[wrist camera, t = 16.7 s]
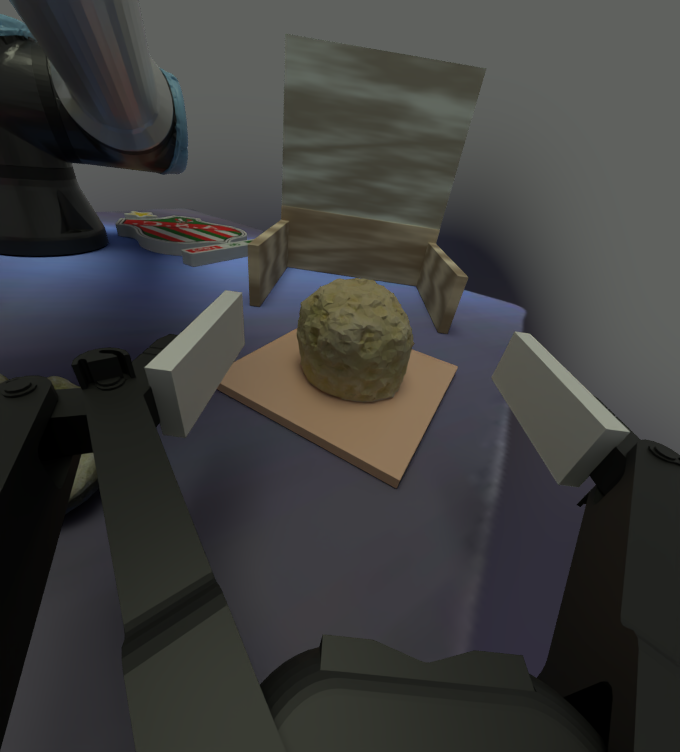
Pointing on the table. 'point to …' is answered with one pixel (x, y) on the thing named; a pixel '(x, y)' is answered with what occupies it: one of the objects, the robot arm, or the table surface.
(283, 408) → the terracotta tile
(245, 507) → the table surface
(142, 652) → the robot arm
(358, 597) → the table surface
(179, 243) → the decorative emblem
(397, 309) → the olive rounded lump
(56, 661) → the table surface
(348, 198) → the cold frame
